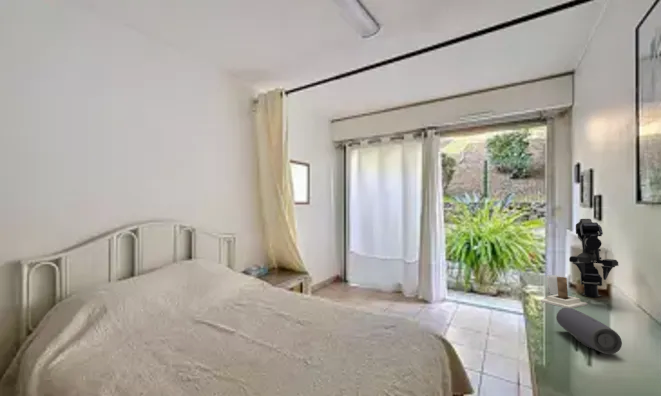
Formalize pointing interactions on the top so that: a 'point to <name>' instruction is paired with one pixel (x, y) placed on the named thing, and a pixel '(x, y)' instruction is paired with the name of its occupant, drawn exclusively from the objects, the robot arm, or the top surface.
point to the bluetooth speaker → (589, 331)
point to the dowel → (562, 287)
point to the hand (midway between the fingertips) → (593, 278)
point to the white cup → (553, 284)
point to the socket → (564, 301)
